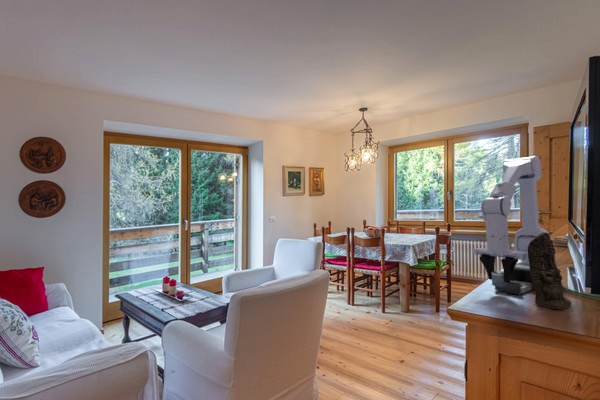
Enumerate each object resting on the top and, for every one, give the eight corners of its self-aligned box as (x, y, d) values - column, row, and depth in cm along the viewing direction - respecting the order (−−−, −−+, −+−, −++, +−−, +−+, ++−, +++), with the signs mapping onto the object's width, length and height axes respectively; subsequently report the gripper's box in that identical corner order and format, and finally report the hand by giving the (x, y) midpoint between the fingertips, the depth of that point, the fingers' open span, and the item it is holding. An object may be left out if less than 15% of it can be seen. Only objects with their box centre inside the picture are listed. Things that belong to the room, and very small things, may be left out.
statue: (559, 311, 81) (555, 233, 82) (529, 304, 88) (525, 232, 88) (572, 306, 84) (568, 231, 85) (542, 299, 91) (538, 230, 91)
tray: (512, 284, 107) (511, 273, 107) (536, 288, 101) (535, 277, 101) (495, 289, 101) (494, 278, 101) (519, 294, 95) (518, 283, 95)
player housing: (520, 280, 112) (519, 262, 112) (551, 285, 104) (550, 266, 104) (507, 285, 107) (506, 265, 107) (538, 290, 99) (537, 270, 99)
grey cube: (496, 282, 100) (495, 270, 100) (510, 285, 96) (509, 272, 96) (489, 285, 97) (488, 272, 97) (503, 287, 94) (502, 274, 94)
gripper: (466, 235, 101) (468, 278, 101) (516, 239, 89) (519, 287, 88) (479, 233, 105) (481, 274, 105) (528, 236, 92) (531, 283, 92)
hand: (499, 280), depth 97 cm, fingers closed on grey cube, 4 cm apart
